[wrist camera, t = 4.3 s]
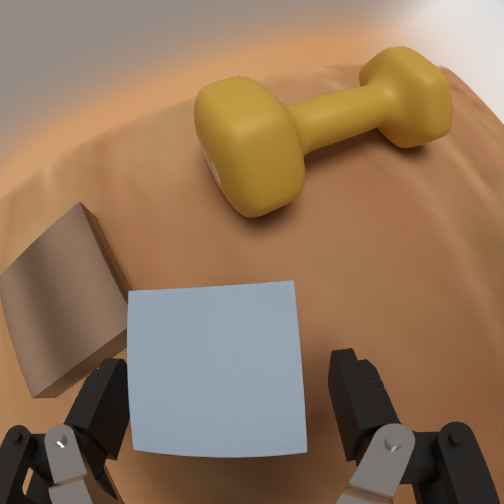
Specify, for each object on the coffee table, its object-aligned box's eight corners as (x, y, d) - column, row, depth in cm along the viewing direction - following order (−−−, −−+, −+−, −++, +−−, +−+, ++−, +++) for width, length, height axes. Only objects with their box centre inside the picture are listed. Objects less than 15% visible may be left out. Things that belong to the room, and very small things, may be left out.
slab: (99, 220, 20) (80, 201, 18) (156, 328, 17) (136, 321, 14) (20, 290, 19) (-3, 279, 16) (58, 397, 15) (32, 398, 13)
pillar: (280, 323, 17) (293, 280, 8) (286, 406, 15) (307, 452, 6) (195, 328, 17) (128, 290, 8) (200, 410, 15) (133, 449, 6)
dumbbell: (377, 97, 24) (396, 32, 16) (438, 160, 21) (478, 96, 13) (197, 157, 22) (171, 73, 14) (247, 252, 18) (233, 172, 11)
